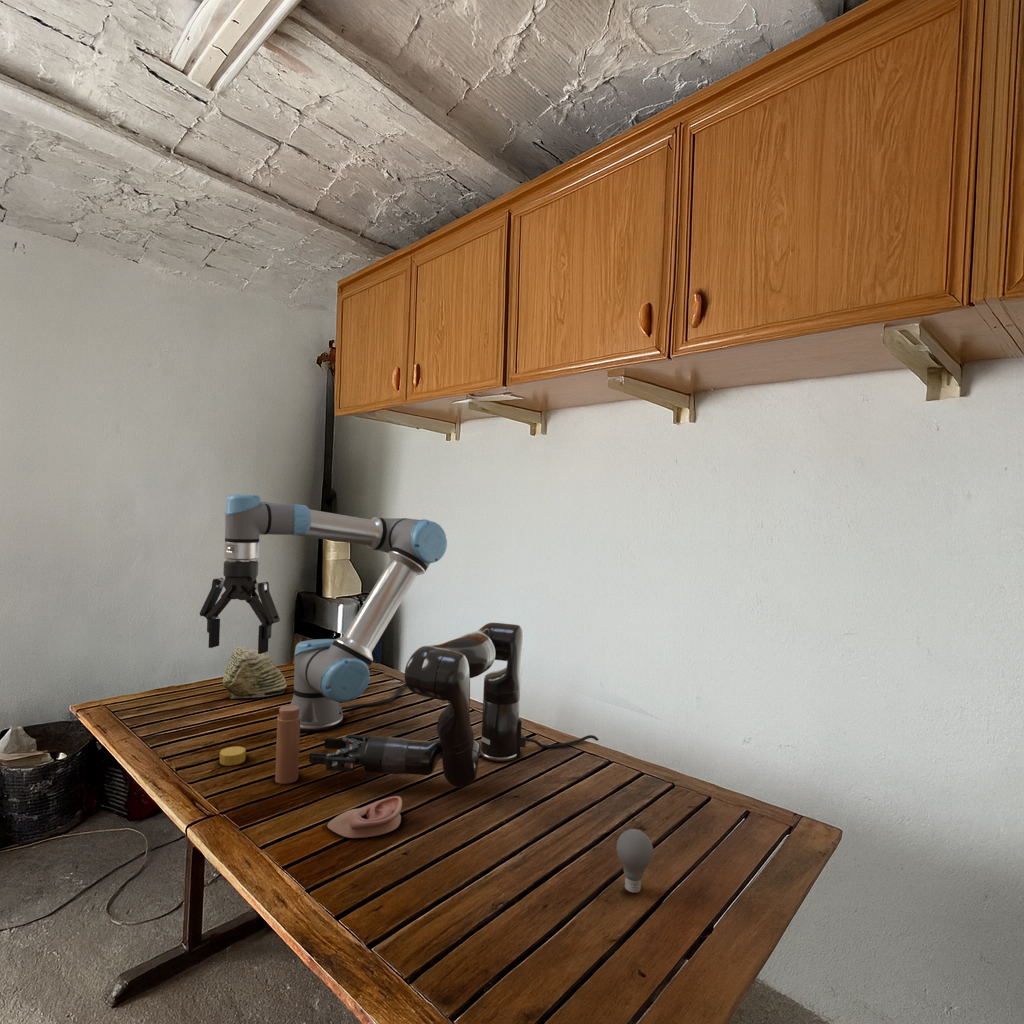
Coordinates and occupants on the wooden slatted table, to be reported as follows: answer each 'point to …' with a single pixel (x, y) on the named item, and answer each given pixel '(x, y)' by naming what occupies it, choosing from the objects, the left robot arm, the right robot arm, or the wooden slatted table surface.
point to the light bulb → (634, 857)
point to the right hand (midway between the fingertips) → (317, 750)
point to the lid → (232, 755)
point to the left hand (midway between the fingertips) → (238, 649)
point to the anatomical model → (369, 819)
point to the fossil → (252, 675)
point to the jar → (287, 744)
